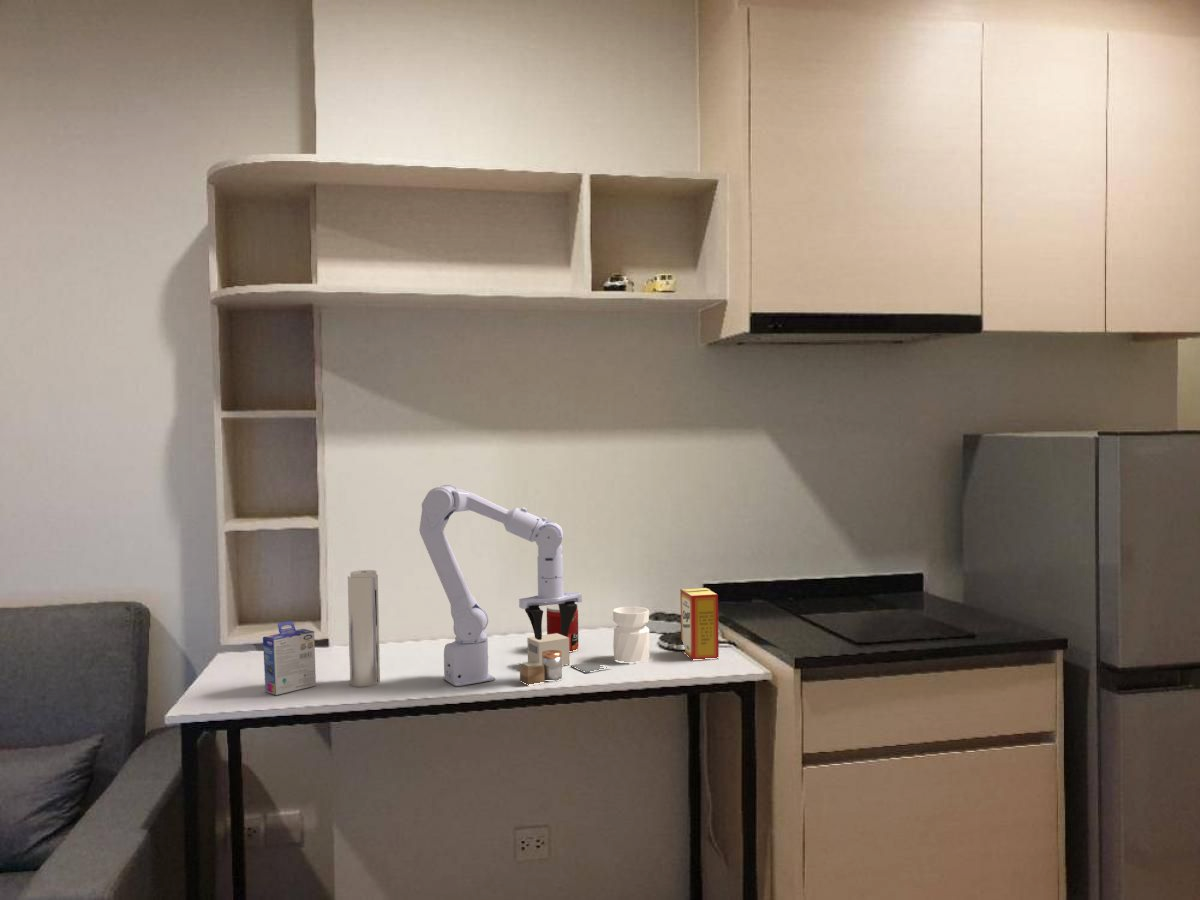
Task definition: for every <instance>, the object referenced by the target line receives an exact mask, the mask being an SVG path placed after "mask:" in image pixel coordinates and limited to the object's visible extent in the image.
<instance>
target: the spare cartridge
mask: <svg viewBox="0 0 1200 900" xmlns="http://www.w3.org/2000/svg"><path fill="white" fill-rule="evenodd" d="M542 665H544V680H559V679H561V678H562V679H563V666H562V652H561V651H558V650H547V651H543V652H542Z"/></svg>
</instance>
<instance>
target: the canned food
mask: <svg viewBox="0 0 1200 900" xmlns="http://www.w3.org/2000/svg"><path fill="white" fill-rule="evenodd" d="M555 633H558V634H560V635H561V618H560V610H559V605H558V604H554V605H547V607H546V635H548V634H555ZM566 637H568V638H569V651H573V650H576V649H579V607H578V605H577V610H576V612H575V614H574V616H573V618H572V620H571V624H570V627H569V632H568V636H566Z"/></svg>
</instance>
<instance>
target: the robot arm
mask: <svg viewBox="0 0 1200 900" xmlns="http://www.w3.org/2000/svg"><path fill="white" fill-rule="evenodd" d="M468 511H472V512H474V513H476V514H479V515H481V516H483V517H486V518H489V519H491V520H494V521H497V522H499V523H501V524H503V526H504V528H505V530H506V532H508V533H510V534H512V535H515V536H517V537H520V538H521V539H524V540H525V541H526V540H527V541H529V542H531V543H533V542H535V543H536V545H537V557H536V558H537V595H533V596H528V597H524V598H518V600H519V601H518V606H519V608H520V609H521V610H522V609H523V610H524V611H525V613H526V615H527V617H528V620H529V621H530V624H531V627H532V629H533V630H532V631H533V634H534V637H535V638H536V639H538V640H541V639H542V635H543V633H542V632H543V629H542V626H543V625H542V623H543V614H544V610H543V609H541V607H544V606H550V605H555V604H558V605H559V610H560V618H561V635H563V636H568V632H569V627H570V624H571V620H572V618H573V616H574V614H575V612H576V610H577V606H578V604H576V603H582V602H583V601H582V600H583V596H582V594H583V593H580V592H565V593H564V556H563V545H562V542H563V539H564V531H563V528H562V526H561V525H559V524H558V523H556V522H555V520H554V521H553V520H548V518H547V517H545V516H543V517H539V516H537V515H535V514H533V513H530V512H528V509H527V508H526V507H521V508H519V507H514V508H512V509H507V508H505V507H504V506H501V505H498V504H497V503H495V502H493V501H490V500H488V499H486V498H485V497H482V496H480V495H478V494H477V493H474V492H471V491H468V490H466V489H464V488H457V487H456V486H454V485H452V484H445V485H444V484H443V485H440V486H437V487H434V488H432V489H430V490H429V491H428V492H427V494H426V495H425V497H424V499H423V500H422V503H421V515H420V523H419V534H420V537H421V539H422V541H423V544H424V545H425V549H426V550H427V553H428V555H429V558H430V560H431V563H432V564H433V567H434V569H435V571H436V574H437V576H438V578H439V580H440V583H441V586H442V588H443V590H444V592H445V594H446V597H447V599H448V602H449V606H450V614H451V617H452V620H453V633H454V635H455V637H454V641H452V642H450V643H449V642H448V643H446V644H445V645H444V649H443V671H444V672H443V675H444V676H442V679H443V680H444V681H447V682H448V683H450V684H451V685H453V686H454V687H460V686H461V687H462V686H468V685H472V684H473V685H474V684H479V683H484V682H490V681H495V680H496V677H495V676H493V675H491V674H489V646H488V645H489V643H488V642H489V639H488V638H489V637H488V635H487V633H485V630H486V629H487V626H488V625H489V616H488V613H487V612H486V611H485V610H484V609H483V608H482V607H481V606H480V605H479V603H478V601H477V599H476V598H475V596H474V595H473V594H472V593H471V591H470V588H469V587H468V584H467V582H466V579H465V577H464V574H463V572H462V570H461V567H460V565H459V563H458V561H457V558H456V556H455V554H454V552H453V551H454V550H453V549H452V546H451V544H450V542H449V540H448V537H447V535H446V533H445V528H446V525H447V524H448V521H449V519H450V517H451V516H452V515H453V514H454V513H458V512H468Z"/></svg>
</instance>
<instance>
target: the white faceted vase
mask: <svg viewBox="0 0 1200 900" xmlns="http://www.w3.org/2000/svg"><path fill="white" fill-rule="evenodd" d="M649 618H650V609H648V607H647V608H646V607H641V606H622V607H616V608H613V612H612V620H613V622H614V623H615V624H617V626H616V627H614V628H613V660H614V659H615V660H618V661H624V662H636V661H644V660H647V659H648V658H649V657H650V628H649V627H647V626H646V624H647V623H648V622H650V621H649ZM650 658H651V657H650ZM650 658H649V659H650ZM615 660H614V661H615Z"/></svg>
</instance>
